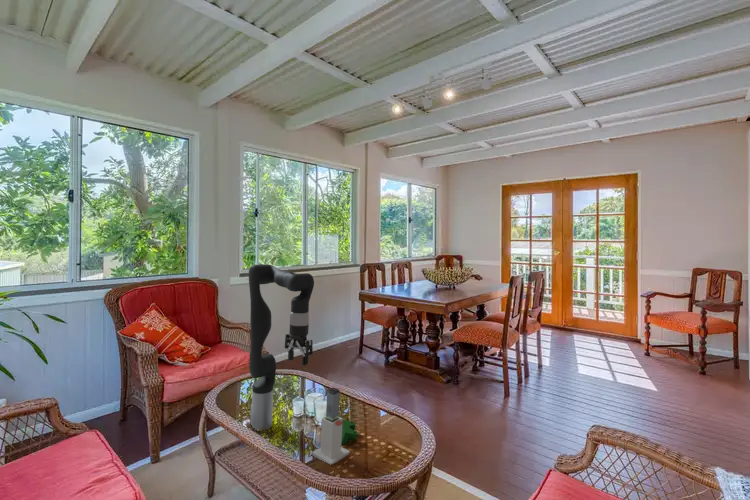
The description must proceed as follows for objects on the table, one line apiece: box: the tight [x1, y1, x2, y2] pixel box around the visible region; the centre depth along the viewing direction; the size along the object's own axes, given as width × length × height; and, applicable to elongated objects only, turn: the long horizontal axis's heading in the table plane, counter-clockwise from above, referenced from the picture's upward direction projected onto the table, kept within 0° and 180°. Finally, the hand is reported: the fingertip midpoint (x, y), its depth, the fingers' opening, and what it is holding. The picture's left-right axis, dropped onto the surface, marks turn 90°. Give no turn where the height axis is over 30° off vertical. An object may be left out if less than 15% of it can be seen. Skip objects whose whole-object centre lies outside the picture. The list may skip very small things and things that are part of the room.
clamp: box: [341, 419, 359, 445], centre depth 164 cm, size 12×6×9 cm, turn 5°
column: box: [325, 387, 340, 422], centre depth 151 cm, size 4×4×20 cm
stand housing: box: [311, 416, 351, 466], centre depth 151 cm, size 11×11×15 cm
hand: (297, 362), depth 149 cm, fingers open, 8 cm apart
